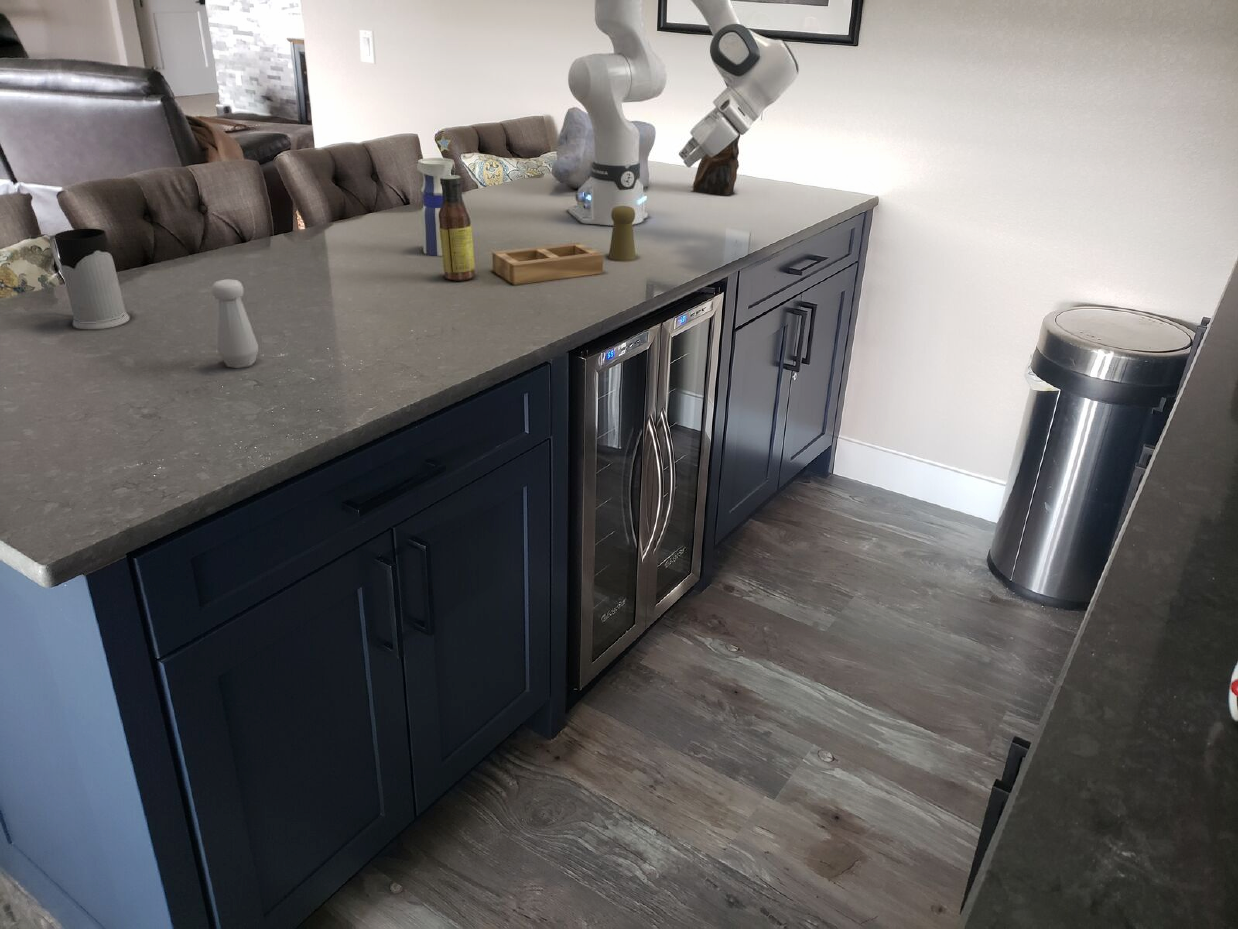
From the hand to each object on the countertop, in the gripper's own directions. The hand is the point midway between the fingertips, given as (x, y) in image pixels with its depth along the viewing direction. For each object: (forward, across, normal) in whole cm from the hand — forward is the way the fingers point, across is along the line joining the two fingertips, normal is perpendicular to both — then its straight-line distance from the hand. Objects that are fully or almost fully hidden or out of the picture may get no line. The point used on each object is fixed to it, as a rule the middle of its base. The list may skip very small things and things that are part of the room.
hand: (683, 160), depth 196 cm
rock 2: (+2, -75, +28) cm, 80 cm away
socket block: (+35, +12, -6) cm, 37 cm away
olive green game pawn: (+24, 0, +6) cm, 24 cm away
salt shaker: (+68, +65, -38) cm, 101 cm away
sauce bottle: (+48, +17, -18) cm, 54 cm away
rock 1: (+25, -78, +4) cm, 81 cm away
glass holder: (+90, +44, -61) cm, 117 cm away
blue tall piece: (+52, -4, -22) cm, 56 cm away
